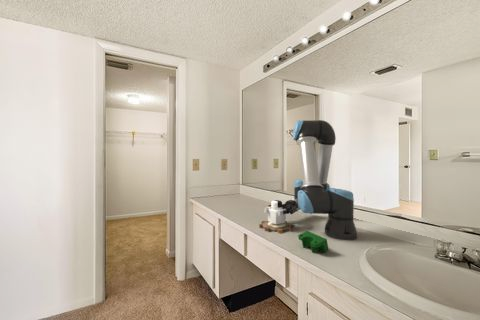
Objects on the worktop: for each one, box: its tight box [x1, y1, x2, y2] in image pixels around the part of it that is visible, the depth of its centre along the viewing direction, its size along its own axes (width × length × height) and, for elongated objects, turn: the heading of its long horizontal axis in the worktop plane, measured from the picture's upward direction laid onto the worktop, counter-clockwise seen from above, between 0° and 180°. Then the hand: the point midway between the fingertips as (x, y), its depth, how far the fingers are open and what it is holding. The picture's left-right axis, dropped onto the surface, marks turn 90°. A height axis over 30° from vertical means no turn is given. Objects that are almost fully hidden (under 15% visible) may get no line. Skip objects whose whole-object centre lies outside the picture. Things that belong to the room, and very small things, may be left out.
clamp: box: [297, 230, 329, 254], centre depth 88 cm, size 12×6×9 cm, turn 20°
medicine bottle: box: [267, 199, 287, 224], centre depth 118 cm, size 7×7×12 cm
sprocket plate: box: [258, 220, 295, 234], centre depth 118 cm, size 19×19×2 cm
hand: (271, 211), depth 114 cm, fingers closed on medicine bottle, 8 cm apart
